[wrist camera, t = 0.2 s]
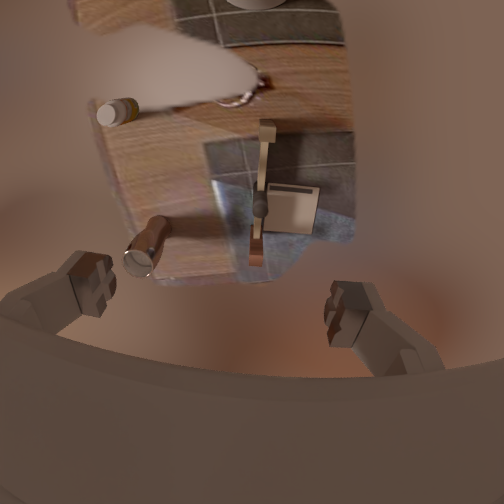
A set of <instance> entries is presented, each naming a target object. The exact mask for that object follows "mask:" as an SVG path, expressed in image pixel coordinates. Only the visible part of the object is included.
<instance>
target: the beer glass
mask: <svg viewBox="0 0 504 504" xmlns="http://www.w3.org/2000/svg"><path fill="white" fill-rule="evenodd" d="M171 232H172V226H171V223H170V222H169V221H168V220H167V219H166V218H165V217H163V216H154V217H152V218H150V219H149V221H148V223H147V226H146V228H145V229H144V230H143V231H141V232H140V233H139V234H138V235H136V236H135V237H134V238H133V240H132V241H131V242H130V244H129V245H128V247H127V249H126V251H125V253H124V254H123V256H122V265H123V267H124V269H125V270H126V271H127V272H128V273H129V274H130V275H132V276H133V277H136V278H147V277H149V276H150V275H151V274H152V272H153V270H154V269H155V267H156V266H157V264H158V262H159V260H160V258H161V256H162V252H163V248H164V243H165V240H166V239H167V238H168V237H169V236H170V234H171Z"/></svg>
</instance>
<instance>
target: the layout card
mask: <svg viewBox="0 0 504 504" xmlns="http://www.w3.org/2000/svg"><path fill="white" fill-rule="evenodd" d="M319 190H320V188H317V187H309V186H299V185H289V184H278V183H268V189H267V200H268V215H267V216H266V217H265V219H264V228H263V230H264V231H277V232H290V233H302V234H311V233H312V228H313V223H314V218H315V212H316V207H317V201H318V195H319Z"/></svg>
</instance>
